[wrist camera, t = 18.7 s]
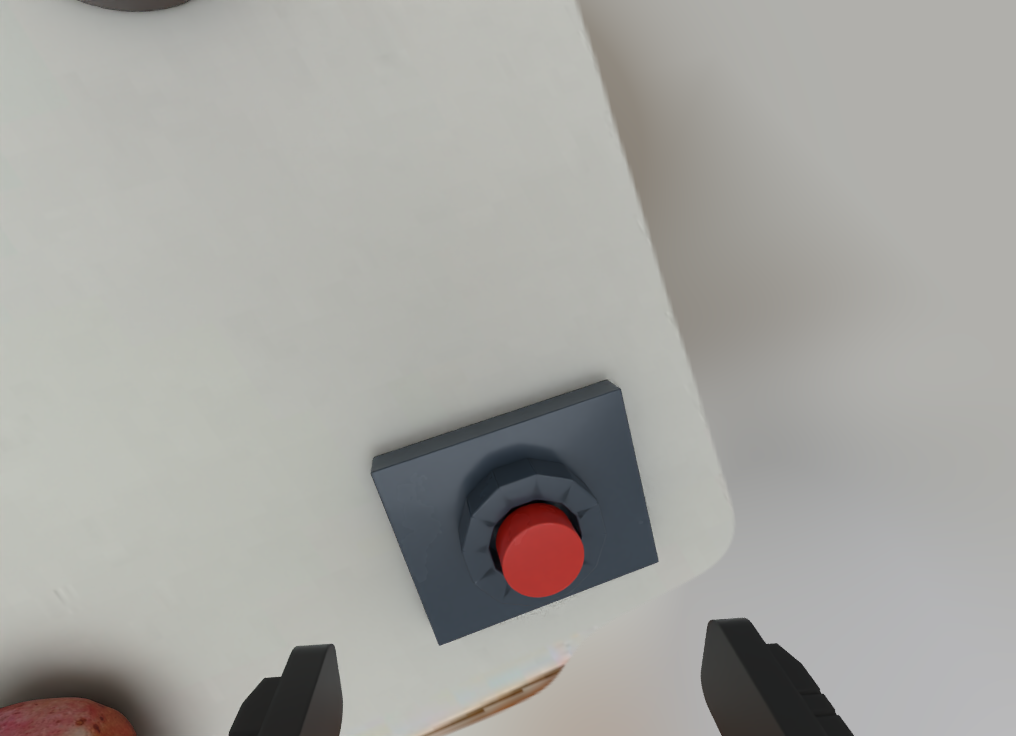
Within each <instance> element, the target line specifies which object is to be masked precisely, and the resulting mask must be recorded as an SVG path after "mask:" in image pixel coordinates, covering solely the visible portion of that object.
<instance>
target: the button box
mask: <svg viewBox="0 0 1016 736" xmlns="http://www.w3.org/2000/svg"><path fill="white" fill-rule="evenodd" d="M371 475H372V478H373V480H374V483H375V485H376V488H377V490H378V493H379V496H380V498H381V501H382V503H383V506H384V508H385V511H386V513H387V516H388V518H389V521H390V523H391V526H392V528H393V531H394V533H395V536H396V538H397V541H398V543H399V546H400V548H401V551H402V554H403V556H404V559H405V561H406V564H407V566H408V569H409V571H410V574H411V576H412V579H413V581H414V584H415V586H416V589H417V591H418V594H419V596H420V599H421V601H422V604H423V606H424V609H425V612H426V614H427V617H428V619H429V622H430V624H431V627H432V629H433V632H434V634H435V637H436V639H437V642H438V644H439V646H440V645H443V644H446V643H448V642H451V641H453V640H456V639H459V638H461V637H464V636H466V635H469V634H472V633H474V632H477V631H480V630H482V629H485V628H487V627H490V626H493V625H495V624H498V623H500V622H503V621H506V620H508V619H511V618H513V617H516V616H519V615H521V614H524V613H527V612H529V611H532V610H534V609H537V608H540V607H542V606H545V605H547V604H550V603H553V602H555V601H558V600H560V599H563V598H566V597H568V596H571V595H574V594H576V593H579V592H581V591H584V590H587V589H589V588H592V587H594V586H597V585H600V584H602V583H605V582H607V581H610V580H613V579H615V578H618V577H621V576H623V575H626V574H628V573H631V572H634V571H636V570H639V569H641V568H644V567H647V566H649V565H652V564H654V563H657V562H658V556H657V552H656V547H655V543H654V538H653V534H652V529H651V525H650V520H649V515H648V511H647V506H646V502H645V497H644V493H643V488H642V484H641V479H640V474H639V470H638V465H637V461H636V456H635V452H634V447H633V443H632V438H631V433H630V429H629V424H628V420H627V415H626V411H625V406H624V402H623V397H622V392H621V389H620V388H619V387H617V386H616V385H614V384H613V383H611V382H610V381H608V380H605V381H602V382H599V383H596V384H593V385H590V386H587V387H584V388H581V389H578V390H575V391H572V392H569V393H566V394H563V395H560V396H557V397H554V398H551V399H548V400H545V401H542V402H539V403H536V404H533V405H530V406H527V407H524V408H521V409H518V410H515V411H512V412H509V413H506V414H503V415H500V416H497V417H494V418H491V419H488V420H485V421H482V422H479V423H476V424H473V425H470V426H467V427H464V428H461V429H458V430H455V431H452V432H449V433H446V434H443V435H440V436H437V437H434V438H431V439H428V440H425V441H422V442H419V443H416V444H413V445H410V446H407V447H404V448H401V449H398V450H395V451H392V452H389V453H386V454H383V455H380V456H377V457H374V458H373V463H372V469H371ZM532 503H546V504H550V505H553V506H555V507H557V508H559V509H560V510H562V511H563V512H564V513H565V514H566V515H567V517H568V518H569V520H570V521H571V523H572V525H573V527H574V528H575V530H576V532H577V533H578V535H579V537H580V539H581V541H582V543H583V547H584V562H583V566H582V568H581V571H580V572H579V574H578V576H577V577H576V579H575V580H574V581H573V582H572V583H571V584H570V585H569V586H568V587H566V588H565V589H564V590H562V591H560V592H558V593H556V594H554V595H550V596H546V597H528V596H525V595H522V594H520V593H518V592H517V591H515V590H514V589H513V588H512V587H510V585H509V584H508V583H507V581H506V580H505V577H504V575H503V571H502V568H501V564H500V561H499V558H498V554H497V550H496V536H497V532H498V530H499V528H500V526H501V524H502V522H503V521H504V520H505V518H506V517H507V516H508V515H509V514H510V513H512V512H513V511H514V510H516V509H518V508H519V507H522V506H524V505H527V504H532Z"/></svg>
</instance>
